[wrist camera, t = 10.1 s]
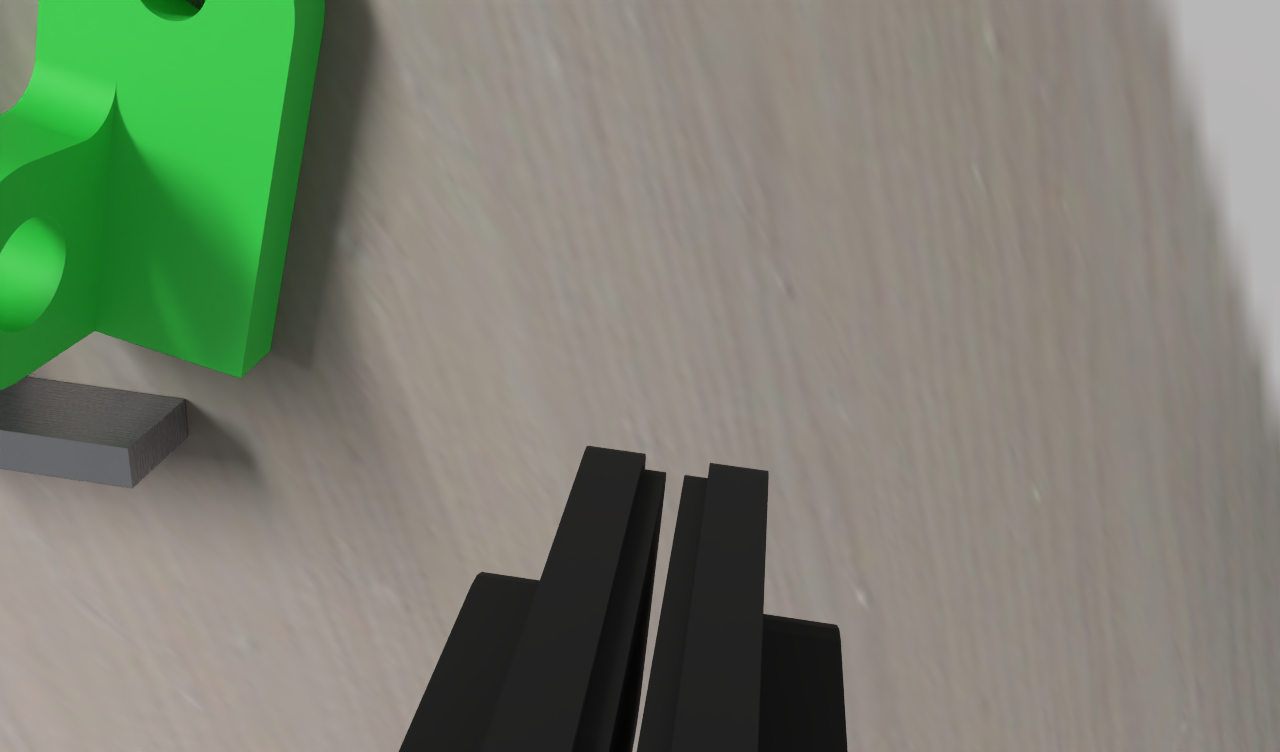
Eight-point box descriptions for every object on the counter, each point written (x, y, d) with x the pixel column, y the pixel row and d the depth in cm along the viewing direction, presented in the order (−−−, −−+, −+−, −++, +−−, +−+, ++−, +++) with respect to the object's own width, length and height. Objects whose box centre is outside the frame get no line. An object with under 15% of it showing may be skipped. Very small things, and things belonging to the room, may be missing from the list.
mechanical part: (272, 348, 31) (115, 494, 24) (66, 281, 31) (-154, 406, 24) (347, -101, 26) (176, -89, 19) (101, -182, 26) (-167, -202, 19)
